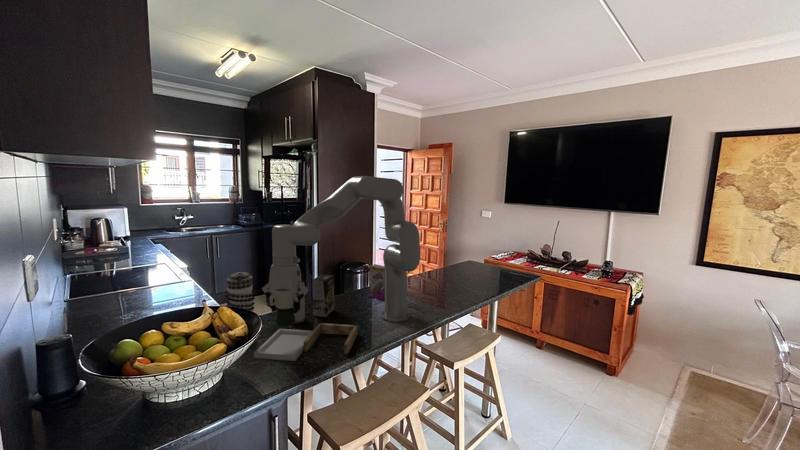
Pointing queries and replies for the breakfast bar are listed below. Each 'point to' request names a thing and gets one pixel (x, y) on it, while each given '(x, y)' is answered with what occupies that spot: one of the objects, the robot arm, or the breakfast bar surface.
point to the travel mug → (301, 306)
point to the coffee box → (323, 295)
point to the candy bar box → (377, 282)
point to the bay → (333, 329)
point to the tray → (283, 345)
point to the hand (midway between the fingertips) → (285, 310)
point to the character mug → (284, 307)
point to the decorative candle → (240, 291)
